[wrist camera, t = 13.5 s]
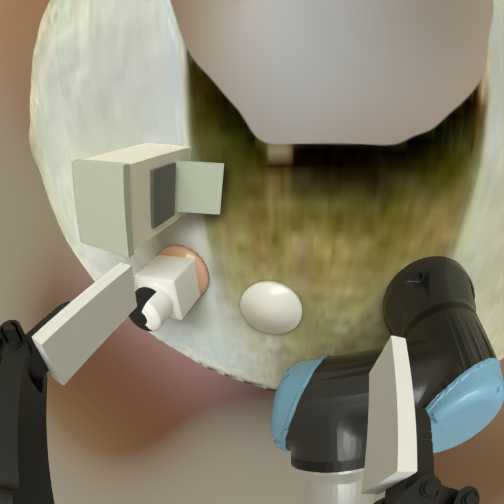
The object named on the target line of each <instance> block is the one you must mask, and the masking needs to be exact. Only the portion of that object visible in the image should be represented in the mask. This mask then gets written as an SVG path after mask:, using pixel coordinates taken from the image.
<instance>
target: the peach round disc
mask: <svg viewBox="0 0 504 504" xmlns="http://www.w3.org/2000/svg"><path fill="white" fill-rule="evenodd" d="M158 255H165V256H174V257H183V258H192V259H194V260H195V264H196V270H197V277H198V283H199V289H200V296H201V295H202V294H203V293H204V291H205V290H206V288H207V287H208V284H209V272H208V269H207V266H206V264H205V263H204V261H203V260H202V258H201V257H200V256H199V255H198V254H197V253H196V252H194V251H193V250H191V249H190V248H188V247H185V246H182V245H171V246H168V247H166V248H165V249H163V250H162V251H161V252H160V253H159V254H158ZM158 255H157V256H158Z"/></svg>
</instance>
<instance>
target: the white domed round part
mask: <svg viewBox="0 0 504 504" xmlns="http://www.w3.org/2000/svg"><path fill="white" fill-rule="evenodd" d="M240 308H241V312H242V315H243V317H244V318H245V320H246V321H247V322H248V323H249V324H250V325H251V326H252V327H254V328H255V329H257V330H259V331H261V332H264V333H268V334H284V333H287V332H289V331H291V330H293V329H294V328H295V327H296V326H297V325H298V324H299V322H300V320H301V316H302V312H303V306H302V302H301V299H300V297H299V296H298V294H297V293H296V292H295V291H294V290H293V289H292V288H291V287H289V286H287V285H286V284H284V283H281V282H278V281H274V280H262V281H258V282H255V283H253V284H252V285H250V286H249V287H248V288H247V289H246V291H245V292H244V294H243V296H242V298H241V302H240Z"/></svg>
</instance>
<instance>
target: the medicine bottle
mask: <svg viewBox="0 0 504 504" xmlns="http://www.w3.org/2000/svg"><path fill="white" fill-rule="evenodd" d="M135 278H136V281H137V285H138V290H136V291H135V296H136V302H137V307H136V308H135V309H134V310H133V311H132V312H131V313H130V315H129V317H130V319H131V320H132V321H133V322H134V323H135V324H136V325H137V326H138V327H140V328H141V329H143V330H146V331H156V330H158V329H159V328H160V327H161V325H162V324H163V323H164V322H165V320H166V319H167V318H168V317H169V318H173V319H178V320H182V319H183V318H184V316H185V315H186V314H187V312H188V311H189V310H190V309H191V307H192V306H193V305H194V303H195V302H196V301H197V299H198V298H199V297H200V289H199V283H198V277H197V270H196V264H195V260H194V259H192V258H183V257H174V256H165V255H158V256H157V257H155V258H154V259H153V260H152V261H151V262H150V263H148V264H147V265H146V266H145V267H144V268H143V269H141V270H140V271H139V272H138V273H137V274H136V275H135Z"/></svg>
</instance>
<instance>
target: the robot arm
mask: <svg viewBox="0 0 504 504" xmlns="http://www.w3.org/2000/svg"><path fill="white" fill-rule="evenodd" d="M474 299H475V294H474V287H473V284H472V281H471V279H470V277H469V276H468V274H467V272H466V271H465V269H464V268H463V267H462V266H461V265H460V264H459V263H457V262H456V261H454V260H452V259H450V258H446V257H439V256H435V257H427V258H423V259H420V260H418V261H415V262H413V263H411V264H410V265H408V266H407V267H405V268H404V269H403V270H401V271H400V272H399V273H398V274H397V275H396V276H395V278H394V279H393V280H392V282H391V283H390V285H389V287H388V288H387V291H386V293H385V297H384V302H383V310H384V317H385V322H386V325H387V328H388V330H389V331H390V333H391V334H392V335H393V336H392V335H391V336H390V338H389V340H388V342H387V344H386V346H385V347H384V348H381V349H375V350H370V351H364V352H358V353H352V354H345V355H339V356H332V357H330V356H323V357H321V358H318V359H312V360H306V361H301V362H298V363H295V364H294V365H292V366H291V367H290V368H289V369H288V370H287V371H286V373H285V374H284V376H283V378H282V380H281V382H280V383H279V385H278V388H277V391H276V394H275V398H274V402H273V408H272V415H271V431H272V437H273V438H274V443H275V444H276V446H277V447H278V448H280V449H283V450H284V451H291V466H292V468H293V469H294V470H295V471H297V472H298V473H300V474H301V475H302V476H303V477H304V504H479V493H478V491H477V489H475V488H474V487H471V486H467V487H464V488H462V489H461V490H456V489H452V488H448V487H445V486H443V485H441V482H440V480H439V479H438V478H437V477H435V475H434V463H433V462H434V461H433V453H436V452H439V451H444V450H446V449H449V448H452V447H454V446H456V445H458V444H461V443H462V442H464V441H466V440H468V439H470V438H471V437H473V436H474V435H475V434H477V433H478V432H479V431H481V430H482V429H483V428H484V427H485V426H486V425H487V424H488V423H490V421H491V420H492V419H493V418H494V417H495V416H496V414H497V413H498V411H499V409H500V408H501V406H502V404H503V401H504V380H503V376H502V372H501V365H500V362H499V360H498V359H497V358H496V355H495V353H494V351H493V348H492V346H491V344H490V341H489V339H488V337H487V335H486V333H485V331H484V328H483V326H482V324H481V322H480V320H479V318H478V316H477V314H476V306H475V301H474ZM136 307H137V302H136V296H135V289H134V282H133V274H132V266H131V265H128V264H125V263H122V262H120V263H119V264H118V265H116V266H115V267H114V268H112V269H111V270H110V271H109V272H107V273H106V274H105V275H104V276H102V277H101V278H100V279H99V280H97V281H96V282H95V283H94V284H92V285H91V286H90V287H89V288H87V289H86V290H85V291H84V292H83V293H81V294H80V295H79V296H78V297H77V298H75V299H74V300H73V301H72V302H69V301H68V302H65V303H63V304H61V305H59V306H58V307H57V308H56V309H55V310H53V311H52V313H50V314H48V315H47V317H45V318H44V319H43V320H42V321H40V322H39V323H38V324H37V325H36V326H35V327H34V328H33V329H31V330H30V331H29V332H28V333H27V334H26V335H25V334H24V332H23V329H22V328H21V325H20V323H19V322H18V321H16V320H9V321H6V322H4V323H3V324H2V325H1V326H0V504H54V499H53V493H52V487H51V480H50V472H49V462H48V450H47V429H46V400H47V374H46V373H47V372H48V371H50V373H51V375H52V376H53V378H54V379H55V380H57V381H58V382H60V383H61V384H62V385H63V386H64V384H66V383H67V381H68V380H69V379H70V378H71V377H72V376H73V375H74V373H75V372H76V371H77V370H78V369H79V368H80V367H81V366H82V365H83V364H84V362H85V361H86V360H87V359H88V358H89V357H90V356H91V355H92V353H94V352H95V351H96V349H97V348H98V347H99V346H100V345H101V344H102V343H103V342H104V341H105V340H106V338H108V336H109V335H110V334H111V333H112V332H113V331H114V330H115V329H116V328H117V327H118V326H119V325H120V324H121V323H122V322H123V321H124V320H125V319H126V318H127V317H128V316H129V315H130V313H131V312H132V311H133V310H134V309H135V308H136ZM385 490H386V493H385V498H382V499H380V500H378V501H376V502H375V503H374V494H380V493H382V492H384V491H385Z"/></svg>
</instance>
